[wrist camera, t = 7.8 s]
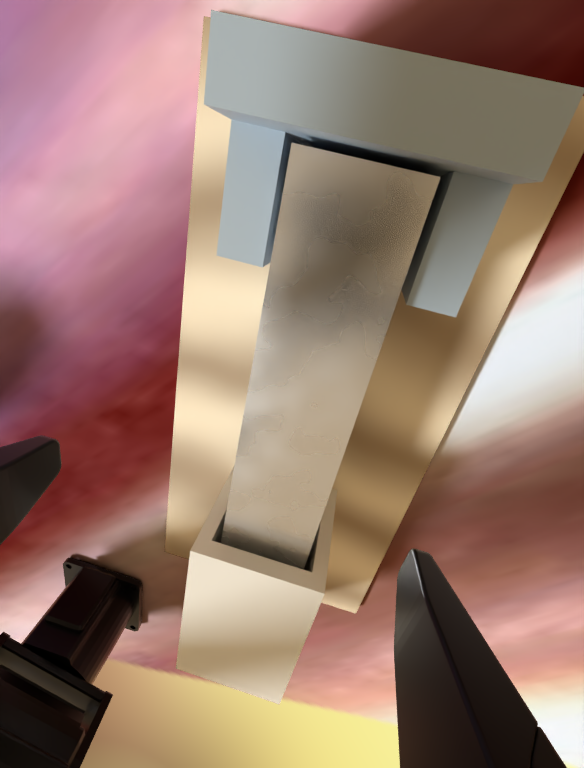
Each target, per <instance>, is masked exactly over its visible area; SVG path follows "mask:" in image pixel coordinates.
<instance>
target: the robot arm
mask: <svg viewBox="0 0 584 768" xmlns="http://www.w3.org/2000/svg"><path fill="white" fill-rule="evenodd" d="M60 469H61V455H60V444H59V442H58V440H56V439H53V438H50V437H46V436H37V437H34V438H30V439H27V440H23V441H20V442H17V443H13V444H10V445H7V446H3V447H0V544H1V543H2V542H3V541H4V540H5V539H6V538H7V537H8V536H9V535H10V534H11V533H12V532H13V530H14V529H15V528H16V527H17V526H18V525H19V523H20V522H21V521H22V520H23V519H24V517H25V516H26V515H27V514H28V512H29V511H30V510H31V508H32V507H33V506H34V505H35V503H36V502H37V501H38V499H39V498H40V497H41V495H42V494H43V493H44V492H45V490H46V489H47V488H48V486H49V485H50V484H51V483H52V481H53V480H54V479H55V477H56V476H57V475H58V473H59V471H60ZM63 568H64V577H65V585H66V588H65V589H64V590H63V592H62V593H61V594H60V595H59V597H58V598H57V599H56V600H55V602H54V603H53V604H52V605H51V607H50V608H49V609H48V611H47V612H46V613H45V614H44V616H43V617H42V618H41V619H40V621H39V622H38V623H37V624H36V626H35V627H34V628H33V630H32V631H31V632H30V633H29V635H28V636H27V637H26V638H25V640H24V641H23V642H22V643H21V644H20V643H19V642H17V641H15V640H13V639H12V638H10V635H8V634H7V633H5V632H3V633H2V634H1V635H0V768H80V766H81V764H82V762H83V759H84V757H85V755H86V753H87V750H88V749H89V746H90V744H91V742H92V740H93V738H94V735H95V733H96V731H97V729H98V727H99V724H100V722H101V720H102V718H103V715H104V713H105V711H106V709H107V707H108V705H109V702H110V700H111V698H112V696H113V695H112V694H111V693H109V692H107V691H106V692H104V691H102V690H100V689H99V688H97V687H95V686H93V685H92V684H93V682H94V681H95V679H96V677H97V675H98V674H99V672H100V670H101V668H102V667H103V665H104V663H105V662H106V660H107V658H108V656H109V655H110V653H111V651H112V649H113V648H114V646H115V644H116V643H117V641H118V639H119V637H120V636H121V634H122V632H123V630H124V629H125V628H126V629H129V630H132V631H138V629H139V628H140V626H141V610H142V583H141V582H140V581H139V580H137V579H134V578H131V577H128V576H125V575H122V574H119V573H115V572H112V571H109V570H106V569H103V568H100V567H97V566H94V565H91V564H88V563H85V562H82V561H79V560H76V559H73V558H67V559H66V560H65V562H64V563H63ZM394 662H395V681H396V700H397V718H398V736H399V754H400V768H567V767H566V766H565V764H564V763H563V761H562V760H561V758H560V757H559V755H558V754H557V752H556V751H555V749H554V747H553V746H552V744H551V743H550V741H549V740H548V738H547V736H546V735H545V733H544V732H543V730H542V729H541V728H540V727H537V726H538V723H537V721H536V719H535V718H534V716H533V715H532V713H531V711H530V710H529V708H528V707H527V705H526V704H525V702H524V700H523V699H522V697H521V696H520V694H519V693H518V691H517V689H516V688H515V686H514V685H513V683H512V682H511V680H510V678H509V677H508V675H507V674H506V672H505V671H504V669H503V667H502V666H501V664H500V663H499V661H498V660H497V658H496V656H495V655H494V653H493V652H492V650H491V649H490V647H489V645H488V644H487V642H486V641H485V639H484V638H483V636H482V634H481V633H480V631H479V630H478V628H477V627H476V625H475V623H474V622H473V620H472V619H471V617H470V616H469V614H468V612H467V611H466V609H465V608H464V606H463V605H462V603H461V601H460V600H459V598H458V597H457V595H456V594H455V592H454V590H453V589H452V587H451V586H450V584H449V583H448V581H447V579H446V578H445V576H444V575H443V573H442V572H441V570H440V568H439V567H438V565H437V564H436V562H435V561H434V559H433V557H432V556H431V555H430V554H429V553H427V552H424V551H421V550H418V549H411V550H410V551H409V553H408V555H407V557H406V559H405V561H404V562H403V564H402V566H401V568H400V570H399V573H398V578H397V595H396V615H395V634H394Z"/></svg>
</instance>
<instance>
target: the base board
mask: <svg viewBox="0 0 584 768" xmlns="http://www.w3.org/2000/svg"><path fill="white" fill-rule="evenodd" d="M210 20H211V18H210V17H205V16H204V22H203V36H202V49H201V63H200V76H199V90H198V104H197V117H196V131H195V144H194V158H193V171H192V185H191V199H190V212H189V226H188V239H187V253H186V266H185V280H184V294H183V307H182V321H181V334H180V348H179V361H178V375H177V389H176V402H175V416H174V429H173V443H172V456H171V470H170V484H169V497H168V511H167V524H166V538H165V551H164V552H167V553H170V554H173V555H176V556H179V557H183V558H186V559H189V557H190V550H191V548H192V546H193V544H194V542H195V541H196V539H197V537H198V535H199V533H200V531H201V529H202V527H203V525H204V523H205V521H206V519H207V517H208V515H209V514H210V512H211V510H212V508H213V506H214V504H215V502H216V500H217V498H218V496H219V494H220V492H221V490H222V488H223V487H224V485H225V483H226V481H227V479H228V477H229V475H230V473H231V471H232V469H233V467H234V465H235V459H236V454H237V448H238V442H239V437H240V431H241V426H242V420H243V414H244V409H245V403H246V397H247V392H248V386H249V380H250V375H251V369H252V363H253V358H254V352H255V347H256V341H257V335H258V330H259V324H260V318H261V313H262V307H263V301H264V296H265V290H266V285H267V279H268V273H269V268H270V263H269V264H267V265H266V266H264V267H259V266H255V265H251V264H247V263H243V262H240V261H236V260H232V259H228V258H224V257H220V256H216V255H217V246H218V237H219V228H220V219H221V210H222V201H223V192H224V183H225V174H226V165H227V156H228V147H229V138H230V129H231V119H229V118H228V117H226V116H224V115H222V114H220V113H219V112H217V111H215V110H213V109H211V108H209V107H208V106H206V105H204V95H205V83H206V70H207V58H208V45H209V33H210ZM583 152H584V96H582V98H581V100H580V102H579V105H578V107H577V109H576V111H575V113H574V115H573V117H572V120H571V122H570V124H569V126H568V128H567V130H566V133H565V135H564V137H563V139H562V141H561V143H560V145H559V148H558V150H557V152H556V154H555V156H554V158H553V161H552V163H551V165H550V167H549V169H548V171H547V173H546V176H545V178H544V180H543V182H535V183H524V184H513V187H512V189H511V191H510V193H509V196H508V198H507V200H506V203H505V205H504V207H503V210H502V212H501V214H500V217H499V219H498V221H497V223H496V226H495V228H494V230H493V233H492V235H491V237H490V240H489V242H488V244H487V247H486V249H485V251H484V253H483V256H482V258H481V260H480V263H479V265H478V267H477V270H476V272H475V274H474V277H473V279H472V281H471V283H470V286H469V288H468V290H467V293H466V295H465V297H464V300H463V302H462V304H461V307H460V309H459V311H458V313H457V316H456V317H452V316H448V315H444V314H440V313H437V312H433V311H429V310H425V309H421V308H417V307H413V306H409V305H406V303H405V300H404V296H403V293H402V290H401V292H400V295H399V298H398V301H397V304H396V306H395V309H394V312H393V315H392V318H391V321H390V324H389V327H388V329H387V332H386V335H385V338H384V341H383V344H382V347H381V349H380V352H379V355H378V358H377V361H376V364H375V367H374V370H373V372H372V375H371V378H370V381H369V384H368V387H367V390H366V392H365V395H364V398H363V401H362V404H361V407H360V410H359V412H358V415H357V418H356V421H355V424H354V427H353V430H352V433H351V435H350V438H349V441H348V444H347V447H346V450H345V453H344V455H343V458H342V461H341V464H340V467H339V470H338V473H337V475H336V478H335V481H334V484H333V487H332V489H335V490H337V497H336V506H335V514H334V522H333V530H332V538H331V546H330V554H329V562H328V571H327V579H326V587H325V594H324V597H323V599H322V603H325V604H328V605H331V606H334V607H337V608H340V609H343V610H347V611H350V612H353V613H356V612H357V610H358V608H359V606H360V604H361V602H362V600H363V598H364V596H365V594H366V592H367V590H368V588H369V586H370V584H371V582H372V580H373V578H374V576H375V574H376V572H377V570H378V567H379V565H380V563H381V561H382V559H383V557H384V555H385V553H386V551H387V549H388V547H389V545H390V543H391V541H392V539H393V537H394V535H395V533H396V531H397V529H398V527H399V525H400V523H401V521H402V519H403V517H404V515H405V513H406V511H407V509H408V507H409V505H410V503H411V501H412V499H413V497H414V495H415V493H416V491H417V489H418V486H419V484H420V482H421V480H422V478H423V476H424V474H425V472H426V470H427V468H428V466H429V464H430V462H431V460H432V458H433V456H434V454H435V452H436V450H437V448H438V446H439V444H440V442H441V440H442V438H443V436H444V434H445V432H446V430H447V428H448V426H449V424H450V422H451V420H452V418H453V416H454V414H455V412H456V410H457V407H458V405H459V403H460V401H461V399H462V397H463V395H464V393H465V391H466V389H467V387H468V385H469V383H470V381H471V379H472V377H473V375H474V373H475V371H476V369H477V367H478V365H479V363H480V361H481V359H482V357H483V355H484V353H485V351H486V349H487V347H488V345H489V343H490V341H491V339H492V337H493V335H494V333H495V331H496V329H497V326H498V324H499V322H500V320H501V318H502V316H503V314H504V312H505V310H506V308H507V306H508V304H509V302H510V300H511V298H512V296H513V294H514V292H515V290H516V288H517V286H518V284H519V282H520V280H521V278H522V276H523V274H524V272H525V270H526V268H527V266H528V264H529V262H530V260H531V258H532V256H533V254H534V252H535V250H536V248H537V245H538V243H539V241H540V239H541V237H542V235H543V233H544V231H545V229H546V227H547V225H548V223H549V221H550V219H551V217H552V215H553V213H554V211H555V209H556V207H557V205H558V203H559V201H560V199H561V197H562V195H563V193H564V191H565V189H566V187H567V185H568V183H569V181H570V179H571V177H572V175H573V173H574V171H575V169H576V167H577V164H578V162H579V160H580V158H581V156H582V154H583Z"/></svg>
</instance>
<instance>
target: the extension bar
mask: <svg viewBox="0 0 584 768" xmlns="http://www.w3.org/2000/svg"><path fill="white" fill-rule="evenodd" d="M440 178H441V177H438V176H434V175H430V174H425V173H421V172H417V171H412V170H408V169H404V168H399V167H395V166H391V165H386V164H382V163H378V162H373V161H369V160H365V159H361V158H356V157H352V156H348V155H343V154H339V153H335V152H330V151H326V150H322V149H317V148H313V147H309V146H305V145H300V144H296V143H291V149H290V155H289V160H288V166H287V172H286V177H285V183H284V189H283V194H282V200H281V206H280V211H279V217H278V222H277V228H276V234H275V239H274V245H273V251H272V256H271V262H270V268H269V273H268V279H267V285H266V290H265V296H264V301H263V307H262V313H261V318H260V324H259V330H258V335H257V341H256V347H255V352H254V358H253V363H252V369H251V375H250V380H249V386H248V392H247V397H246V403H245V409H244V414H243V420H242V426H241V431H240V437H239V442H238V448H237V454H236V459H235V465H234V471H233V476H232V482H231V488H230V493H229V499H228V505H227V510H226V516H225V521H224V527H223V533H222V538H221V544H224V545H227V546H231V547H234V548H237V549H240V550H243V551H246V552H249V553H253V554H256V555H259V556H262V557H265V558H268V559H271V560H275V561H278V562H281V563H284V564H287V565H290V566H293V567H297V568H300V569H303V570H304V567H305V564H306V561H307V559H308V556H309V553H310V550H311V547H312V544H313V541H314V539H315V536H316V533H317V530H318V527H319V524H320V521H321V518H322V516H323V513H324V510H325V507H326V504H327V501H328V498H329V496H330V493H331V490H332V487H333V484H334V481H335V478H336V475H337V473H338V470H339V467H340V464H341V461H342V458H343V455H344V453H345V450H346V447H347V444H348V441H349V438H350V435H351V433H352V430H353V427H354V424H355V421H356V418H357V415H358V412H359V410H360V407H361V404H362V401H363V398H364V395H365V392H366V390H367V387H368V384H369V381H370V378H371V375H372V372H373V370H374V367H375V364H376V361H377V358H378V355H379V352H380V349H381V347H382V344H383V341H384V338H385V335H386V332H387V329H388V327H389V324H390V321H391V318H392V315H393V312H394V309H395V306H396V304H397V301H398V298H399V295H400V292H401V289H402V286H403V284H404V281H405V278H406V275H407V272H408V269H409V266H410V264H411V261H412V258H413V255H414V252H415V249H416V246H417V243H418V241H419V238H420V235H421V232H422V229H423V226H424V223H425V221H426V218H427V215H428V212H429V209H430V206H431V203H432V201H433V198H434V195H435V192H436V189H437V186H438V183H439V180H440Z"/></svg>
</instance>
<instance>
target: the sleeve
mask: <svg viewBox="0 0 584 768" xmlns="http://www.w3.org/2000/svg"><path fill="white" fill-rule="evenodd" d="M233 471H234V467H233V469H232V471H231V473H230V475H229V477H228V479H227V481H226V483H225V485H224V487H223V488H222V490H221V492H220V494H219V496H218V498H217V500H216V502H215V504H214V506H213V508H212V510H211V512H210V514H209V515H208V517H207V519H206V521H205V523H204V525H203V527H202V529H201V531H200V533H199V535H198V537H197V539H196V541H195V542H194V544H193V546H192V548H191V550H190V557H189V565H188V573H187V581H186V589H185V598H184V606H183V614H182V622H181V630H180V638H179V647H178V655H177V663H176V669H179V670H182V671H185V672H187V673H190V674H193V675H196V676H199V677H202V678H205V679H208V680H210V681H213V682H216V683H219V684H222V685H225V686H228V687H231V688H234V689H236V690H239V691H242V692H245V693H248V694H251V695H254V696H257V697H260V698H263V699H265V700H268V701H271V702H274V703H277V704H280V702H281V699H282V697H283V694H284V692H285V689H286V687H287V685H288V682H289V680H290V677H291V675H292V672H293V670H294V667H295V665H296V663H297V660H298V658H299V655H300V653H301V650H302V648H303V645H304V643H305V641H306V638H307V636H308V633H309V631H310V628H311V626H312V624H313V621H314V619H315V616H316V614H317V611H318V609H319V606H320V604H321V602H322V599H323V597H324V594H325V587H326V579H327V571H328V562H329V554H330V546H331V538H332V530H333V522H334V514H335V506H336V497H337V490H335V489H332V490H331V493H330V496H329V498H328V501H327V504H326V507H325V510H324V513H323V516H322V518H321V521H320V524H319V527H318V530H317V533H316V536H315V539H314V541H313V544H312V547H311V550H310V553H309V556H308V559H307V561H306V564H305V567H304V570H303V569H300V568H297V567H293V566H290V565H287V564H284V563H281V562H278V561H275V560H271V559H268V558H265V557H262V556H259V555H256V554H253V553H249V552H246V551H243V550H240V549H237V548H234V547H231V546H227V545H224V544H221V538H222V533H223V527H224V521H225V516H226V510H227V505H228V499H229V493H230V488H231V482H232V476H233Z"/></svg>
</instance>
